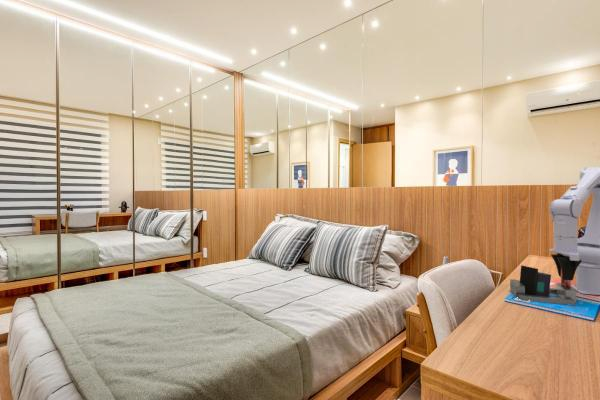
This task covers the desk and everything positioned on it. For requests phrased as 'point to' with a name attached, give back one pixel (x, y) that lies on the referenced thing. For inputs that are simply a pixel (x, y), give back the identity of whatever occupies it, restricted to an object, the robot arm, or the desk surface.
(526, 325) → the desk surface
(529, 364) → the desk surface
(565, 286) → the jaw slide
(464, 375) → the desk surface
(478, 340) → the desk surface
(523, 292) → the vise body
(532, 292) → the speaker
